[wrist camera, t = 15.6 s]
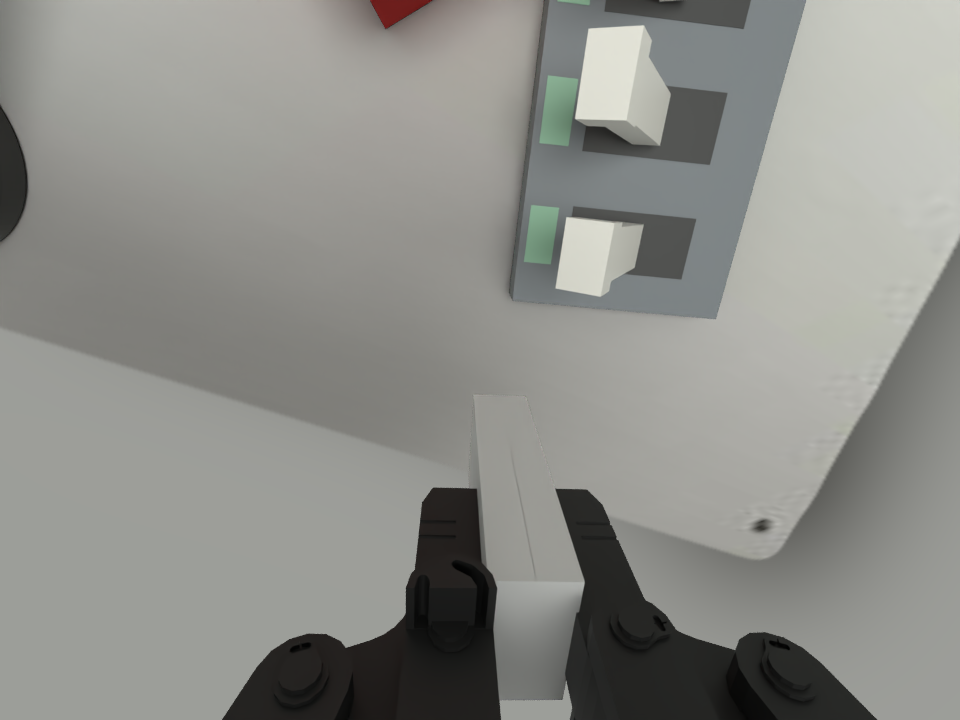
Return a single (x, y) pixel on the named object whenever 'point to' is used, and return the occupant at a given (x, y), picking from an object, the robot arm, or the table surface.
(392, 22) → the fire alarm
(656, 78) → the handle
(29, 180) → the table surface
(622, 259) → the handle
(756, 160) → the breaker panel
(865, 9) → the table surface
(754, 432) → the table surface
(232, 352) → the table surface
